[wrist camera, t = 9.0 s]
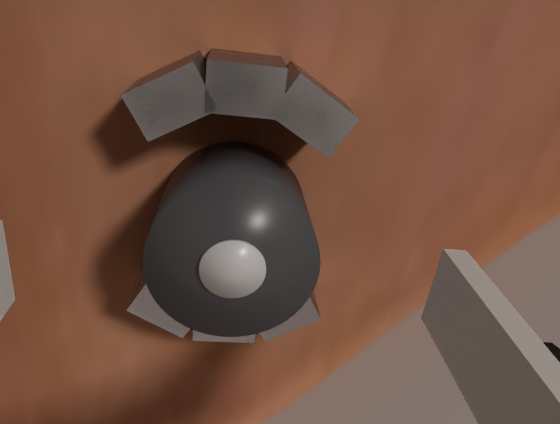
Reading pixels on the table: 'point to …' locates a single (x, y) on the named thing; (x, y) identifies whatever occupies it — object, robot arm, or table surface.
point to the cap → (231, 242)
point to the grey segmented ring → (237, 102)
